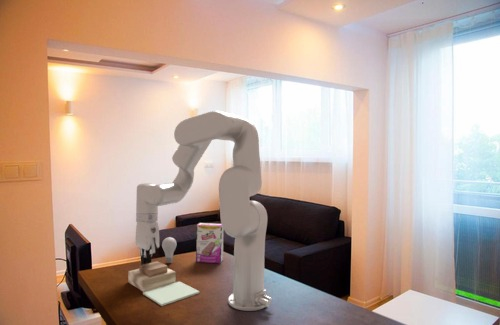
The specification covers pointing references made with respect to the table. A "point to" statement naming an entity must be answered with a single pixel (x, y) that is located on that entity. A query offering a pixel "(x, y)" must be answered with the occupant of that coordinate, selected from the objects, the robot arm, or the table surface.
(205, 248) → the candy bar box
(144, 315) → the table surface
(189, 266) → the table surface
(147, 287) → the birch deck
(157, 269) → the walnut block
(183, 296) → the sage mat
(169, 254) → the lightbulb
